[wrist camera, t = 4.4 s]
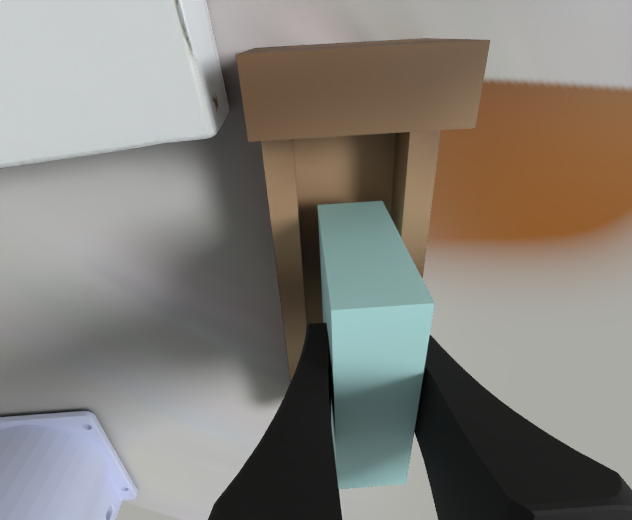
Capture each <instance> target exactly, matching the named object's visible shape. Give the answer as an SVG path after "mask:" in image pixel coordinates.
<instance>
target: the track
mask: <svg viewBox="0 0 632 520" xmlns="http://www.w3.org/2000/svg"><path fill="white" fill-rule="evenodd" d="M489 44H490V40H470V39H431V38H423V39H406V40H388V41H371V42H353V43H336V44H318V45H300V46H283V47H265V48H254V49H251V50H248V51H245V52H242V53H239V54H236V60H237V67H238V74H239V81H240V88H241V95H242V102H243V109H244V116H245V123H246V131H247V138H248V142H254V141H261V146H262V155H263V163H264V171H265V179H266V187H267V195H268V203H269V211H270V219H271V228H272V236H273V244H274V252H275V260H276V268H277V276H278V284H279V293H280V301H281V309H282V317H283V325H284V333H285V341H286V349H287V357H288V366H289V374H290V382H291V380H292V378H293V376H294V373H295V370H296V368H297V365H298V362H299V359H300V356H301V352H302V349H303V345H304V341H305V335H306V326H307V325H309V324H312V323H323V309H322V289H321V268H320V247H319V227H318V206H317V205H323V204H339V203H355V202H371V201H383V203H384V205H385V207H386V209H387V211H388V213H389V215H390V217H391V219H392V221H393V222H394V224H395V226H396V228H397V230H398V232H399V234H400V236H401V238H402V240H403V242H404V244H405V246H406V248H407V250H408V252H409V254H410V256H411V258H412V260H413V262H414V264H415V266H416V268H417V270H418V271H419V273H420V275H421V277H422V278H423V270H424V262H425V254H426V246H427V237H428V230H429V221H430V214H431V205H432V197H433V189H434V181H435V173H436V165H437V156H438V149H439V140H440V132H441V130H448V129H449V130H450V129H464V128H465V129H466V128H475V126H476V120H477V115H478V108H479V103H480V97H481V91H482V85H483V79H484V73H485V67H486V62H487V56H488V50H489Z"/></svg>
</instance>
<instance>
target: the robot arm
mask: <svg viewBox="0 0 632 520" xmlns="http://www.w3.org/2000/svg"><path fill="white" fill-rule="evenodd" d="M414 432H415V435H416V437H417V441H418V443H419V446H420V449H421V453H422V456H423V459H424V462H425V466H426V470H427V474H428V478H429V482H430V486H431V490H432V494H433V499H434V503H435V507H436V511H437V516H438V520H632V490H631V488H630V487H629V486H628V485H627V484H626V482H625V481H624V480H623V479H622V478H621V476H620V475H619V474H618V473H617V472H615V471H613V470H611V469H609V468H607V467H606V466H604V465H602V464H600V463H598V462H596V461H594V460H593V459H591V458H589V457H587V456H585V455H583V454H581V453H580V452H578V451H576V450H574V449H573V448H571V447H569V446H567V445H566V444H564V443H563V442H561V441H559V440H557V439H556V438H554V437H553V436H551V435H549V434H548V433H546V432H545V431H543V430H541V429H540V428H538V427H537V426H535V425H534V424H532V423H531V422H529V421H528V420H527V419H525V418H523V417H522V416H521V415H519V414H518V413H516V412H515V411H513V410H512V409H511V408H509V407H508V406H507V405H505V404H504V403H503V402H501V401H500V400H499V399H498V398H496V397H495V396H494V395H492V394H491V393H490V392H489V391H488V390H486V389H485V388H484V387H483V386H482V385H480V384H479V383H478V382H477V381H476V380H475V379H474V378H473V377H472V376H471V375H469V374H468V373H467V372H466V371H465V370H464V369H463V368H462V367H461V366H460V365H459V364H458V363H457V362H456V361H455V360H454V359H453V358H452V357H451V356H450V355H449V354H448V353H447V352H446V351H445V350H444V349H443V348H442V347H441V346H440V345H439V344H438V343H437V341H436V340H435V339H434V338H433V337H432V336H431V335H430V336H429V342H428V348H427V355H426V361H425V367H424V374H423V380H422V386H421V393H420V399H419V405H418V412H417V418H416V424H415V431H414ZM137 494H138V491H137V489H136V487H135V485H134V483H133V482H132V480H131V478H130V476H129V475H128V473H127V471H126V469H125V468H124V466H123V464H122V462H121V461H120V459H119V457H118V455H117V454H116V452H115V450H114V448H113V446H112V445H111V443H110V441H109V439H108V438H107V436H106V434H105V432H104V431H103V429H102V427H101V425H100V424H99V422H98V420H97V418H96V417H95V415H94V414H93V413H91V412H89V411H77V412H64V413H50V414H37V415H23V416H10V417H0V520H116V517H117V514H118V512H119V509H120V506H121V503H122V501H123V500H133V499H135V498H136V497H137ZM208 520H342V514H341V506H340V497H339V489H338V480H337V471H336V462H335V453H334V444H333V435H332V426H331V382H330V357H329V339H328V331H327V324H326V323H312V324H309V325H307V326H306V335H305V341H304V345H303V349H302V352H301V356H300V359H299V362H298V365H297V368H296V370H295V373H294V376H293V378H292V380H291V383H290V385H289V388H288V390H287V392H286V395H285V397H284V399H283V401H282V403H281V405H280V407H279V409H278V411H277V413H276V415H275V417H274V418H273V420H272V422H271V424H270V425H269V427H268V429H267V431H266V432H265V434H264V436H263V437H262V439H261V441H260V442H259V444H258V445H257V447H256V448H255V450H254V451H253V453H252V454H251V456H250V457H249V459H248V460H247V461H246V463H245V464H244V466H243V467H242V469H241V470H240V472H239V473H238V474H237V476H236V477H235V478H234V479H233V481H232V482H231V483H230V485H229V486H228V487H227V488H226V490H225V491H224V492H223V493H222V495H221V496H220V497H219V498H218V500H217V501H216V502H215V504H214V506H213V508H212V511H211V513H210V516H209V518H208Z"/></svg>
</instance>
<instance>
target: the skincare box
mask: <svg viewBox="0 0 632 520" xmlns="http://www.w3.org/2000/svg"><path fill="white" fill-rule="evenodd" d="M229 111H230V109H229V104H228V99H227V95H226V90H225V85H224V81H223V76H222V71H221V66H220V62H219V57H218V52H217V48H216V43H215V39H214V34H213V30H212V25H211V21H210V16H209V12H208V7H207V3H206V0H0V168H5V167H12V166H20V165H26V164H34V163H41V162H47V161H54V160H62V159H69V158H76V157H82V156H89V155H96V154H102V153H109V152H116V151H121V150H128V149H134V148H140V147H146V146H151V145H156V144H163V143H170V142H180V141H189V140H199V139H207V138H211V137H213V136H214V135H216V134H217V132H218V131H219V130H220V128H221V127H222V125H223V123H224V121H225V120H226V118H227V116H228V114H229Z"/></svg>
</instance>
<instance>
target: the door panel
mask: <svg viewBox="0 0 632 520" xmlns="http://www.w3.org/2000/svg"><path fill="white" fill-rule="evenodd" d="M317 206H318V227H319V247H320V268H321V289H322V309H323V323H326V324H327V331H328V339H329V357H330V382H331V426H332V435H333V444H334V453H335V462H336V471H337V480H338V489H347V488H359V487H373V486H386V485H398V484H406V481H407V475H408V468H409V462H410V456H411V449H412V443H413V437H414V431H415V424H416V418H417V412H418V405H419V399H420V393H421V386H422V380H423V374H424V367H425V361H426V355H427V348H428V342H429V336H430V330H431V323H432V316H433V310H434V304H435V303H434V301H433V299H432V297H431V295H430V293H429V291H428V289H427V287H426V285H425V283H424V281H423V279H422V277H421V275H420V273H419V271H418V270H417V268H416V266H415V264H414V262H413V260H412V258H411V256H410V254H409V252H408V250H407V248H406V246H405V244H404V242H403V240H402V238H401V236H400V234H399V232H398V230H397V228H396V226H395V224H394V222H393V221H392V219H391V217H390V215H389V213H388V211H387V209H386V207H385V205H384V203H383V201H371V202H355V203H339V204H323V205H317Z"/></svg>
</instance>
